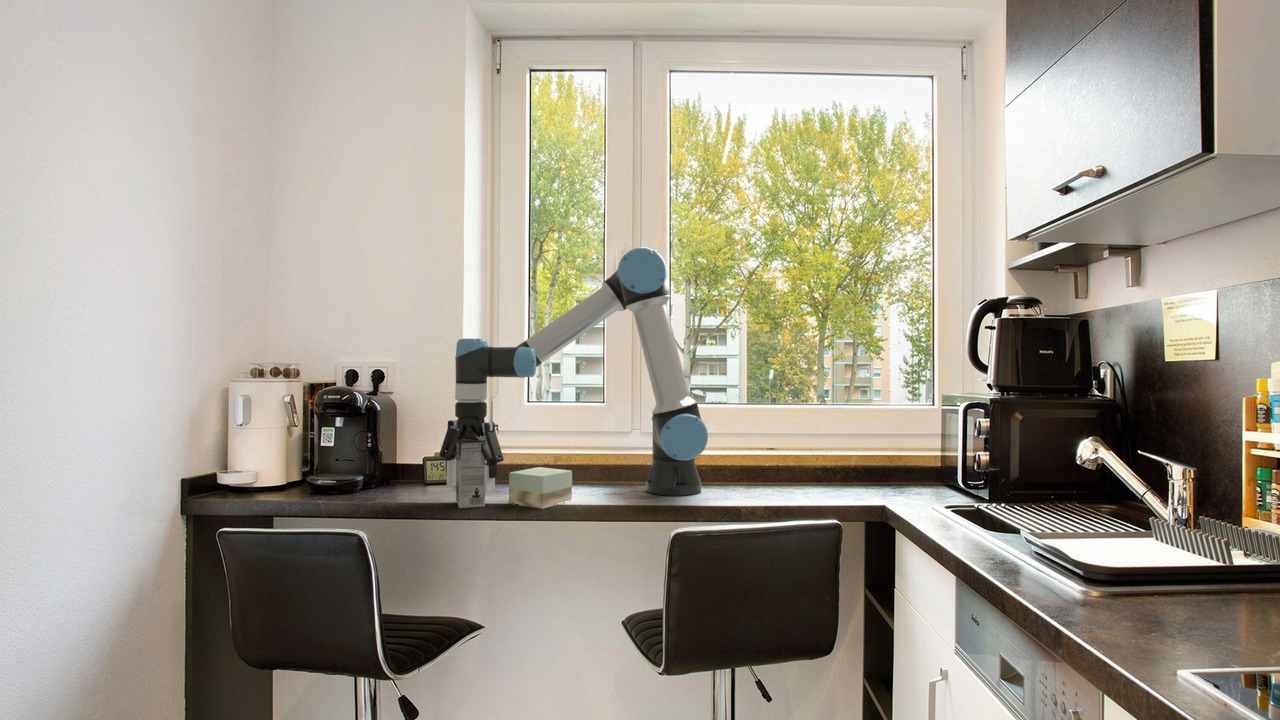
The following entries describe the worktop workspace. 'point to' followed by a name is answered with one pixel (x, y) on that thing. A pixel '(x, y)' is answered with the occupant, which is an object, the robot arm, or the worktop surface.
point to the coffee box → (470, 473)
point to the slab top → (540, 480)
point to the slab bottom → (540, 497)
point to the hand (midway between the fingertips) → (470, 488)
